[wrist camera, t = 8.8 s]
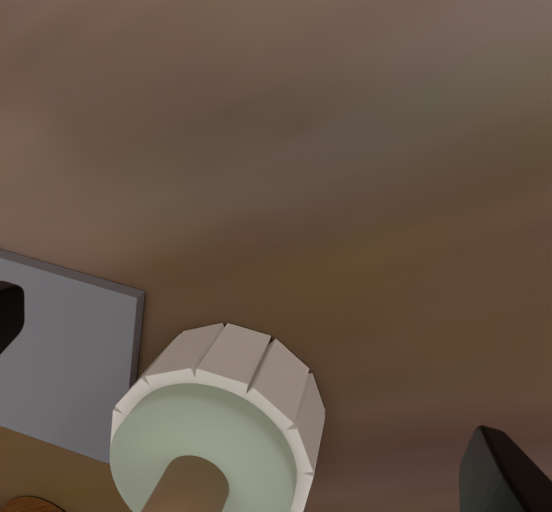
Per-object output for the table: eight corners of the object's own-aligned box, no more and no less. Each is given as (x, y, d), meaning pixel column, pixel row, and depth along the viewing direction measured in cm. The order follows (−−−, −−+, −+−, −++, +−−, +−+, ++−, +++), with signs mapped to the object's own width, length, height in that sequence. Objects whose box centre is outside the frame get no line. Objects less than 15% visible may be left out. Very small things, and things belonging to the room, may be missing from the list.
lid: (314, 417, 18) (289, 531, 14) (278, 553, 21) (246, 687, 17) (129, 360, 20) (46, 447, 15) (119, 498, 23) (46, 607, 18)
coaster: (144, 291, 23) (136, 298, 22) (128, 458, 27) (121, 468, 26) (-47, 235, 25) (-61, 240, 24) (-35, 401, 29) (-46, 409, 28)
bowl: (342, 356, 22) (333, 410, 18) (301, 497, 25) (286, 567, 22) (160, 303, 23) (118, 343, 19) (145, 444, 27) (105, 501, 23)
